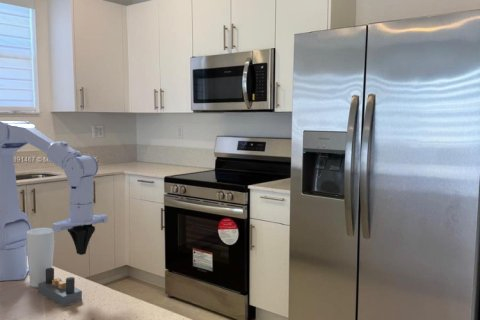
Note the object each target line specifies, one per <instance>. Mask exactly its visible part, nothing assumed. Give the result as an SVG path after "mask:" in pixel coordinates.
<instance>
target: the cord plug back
mask: <svg viewBox="0 0 480 320" xmlns="http://www.w3.org/2000/svg"><path fill="white" fill-rule="evenodd" d="M53 279H55V268H54V267H52V268H47V269H46V283H47V284H50V283H52V280H53Z"/></svg>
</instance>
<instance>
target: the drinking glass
mask: <svg viewBox="0 0 480 320" xmlns="http://www.w3.org/2000/svg"><path fill="white" fill-rule="evenodd" d="M25 245H26V248H27V267H29V271H28V275H29V286H30V287H31V288H37V289H38V284H39V283H42V282H46V269H47V268H53V261H54V260H53V259H54V251H55V250H54V249H55V231H53V228H52V227H51V228H50V227H37V228H35V227H34V228H32V229H31V230H28V231H27V237H26V244H25Z"/></svg>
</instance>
